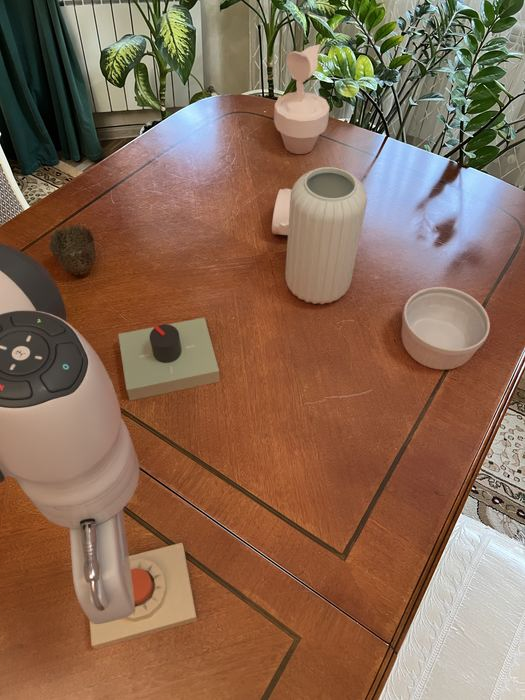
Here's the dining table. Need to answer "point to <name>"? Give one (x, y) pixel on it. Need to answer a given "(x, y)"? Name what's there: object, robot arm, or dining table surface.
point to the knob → (165, 343)
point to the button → (141, 585)
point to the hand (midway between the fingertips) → (113, 527)
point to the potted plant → (301, 105)
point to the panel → (180, 374)
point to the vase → (324, 234)
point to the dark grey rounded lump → (74, 249)
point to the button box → (153, 599)
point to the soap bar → (281, 212)
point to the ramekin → (443, 327)
